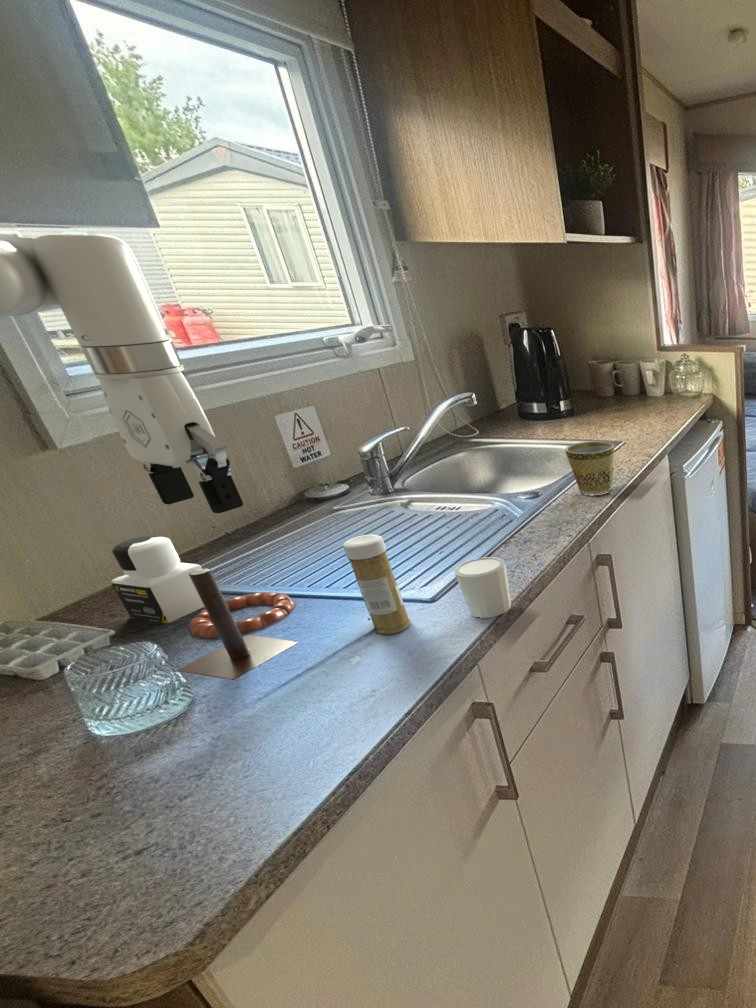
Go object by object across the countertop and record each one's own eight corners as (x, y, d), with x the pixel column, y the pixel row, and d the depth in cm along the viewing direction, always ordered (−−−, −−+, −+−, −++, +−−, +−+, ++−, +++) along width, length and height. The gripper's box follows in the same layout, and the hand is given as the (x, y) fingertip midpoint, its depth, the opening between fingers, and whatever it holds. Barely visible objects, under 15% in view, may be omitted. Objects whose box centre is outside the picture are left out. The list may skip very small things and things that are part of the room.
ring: (172, 639, 90) (164, 624, 89) (255, 600, 100) (248, 586, 99) (239, 649, 88) (231, 634, 87) (316, 608, 98) (310, 594, 97)
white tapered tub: (467, 602, 99) (455, 560, 96) (515, 594, 101) (505, 553, 98) (464, 623, 93) (451, 579, 90) (515, 615, 95) (504, 571, 92)
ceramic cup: (614, 498, 140) (607, 452, 136) (567, 499, 140) (558, 453, 136) (627, 480, 152) (621, 437, 147) (584, 481, 152) (576, 438, 147)
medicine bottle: (133, 624, 94) (90, 548, 88) (185, 602, 100) (147, 528, 94) (171, 630, 92) (129, 552, 87) (221, 606, 99) (185, 532, 93)
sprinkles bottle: (417, 619, 94) (389, 533, 88) (400, 636, 90) (369, 546, 84) (386, 620, 94) (355, 533, 88) (367, 636, 90) (333, 546, 84)
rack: (180, 678, 82) (129, 584, 76) (249, 641, 90) (207, 553, 83) (237, 687, 80) (189, 591, 74) (302, 649, 88) (264, 559, 81)
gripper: (49, 362, 73) (126, 507, 81) (141, 368, 67) (214, 524, 76) (130, 353, 79) (194, 489, 87) (221, 358, 74) (280, 503, 82)
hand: (203, 505), depth 81 cm, fingers open, 9 cm apart
